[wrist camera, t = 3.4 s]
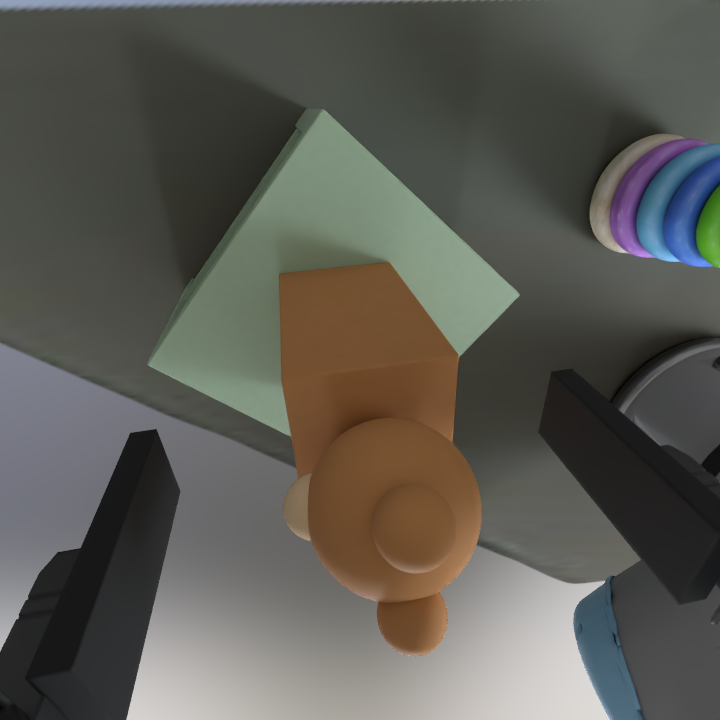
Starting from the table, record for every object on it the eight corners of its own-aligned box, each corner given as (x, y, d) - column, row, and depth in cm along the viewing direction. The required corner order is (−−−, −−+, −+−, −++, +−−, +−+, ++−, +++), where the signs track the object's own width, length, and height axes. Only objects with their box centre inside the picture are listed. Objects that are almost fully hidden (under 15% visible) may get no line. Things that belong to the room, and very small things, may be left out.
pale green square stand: (453, 243, 31) (521, 295, 22) (332, 380, 35) (351, 467, 26) (306, 108, 25) (322, 107, 17) (183, 290, 29) (145, 365, 21)
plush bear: (390, 261, 20) (562, 490, 8) (391, 375, 23) (516, 659, 11) (269, 273, 19) (260, 544, 7) (288, 389, 23) (304, 707, 11)
